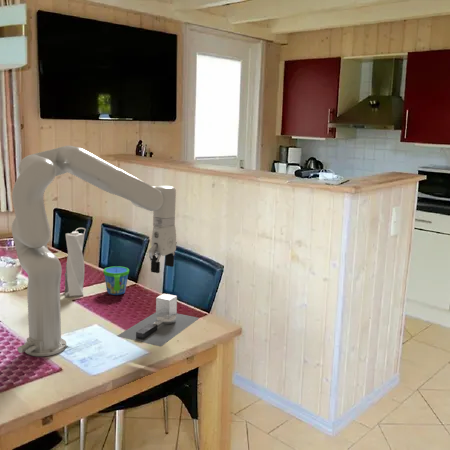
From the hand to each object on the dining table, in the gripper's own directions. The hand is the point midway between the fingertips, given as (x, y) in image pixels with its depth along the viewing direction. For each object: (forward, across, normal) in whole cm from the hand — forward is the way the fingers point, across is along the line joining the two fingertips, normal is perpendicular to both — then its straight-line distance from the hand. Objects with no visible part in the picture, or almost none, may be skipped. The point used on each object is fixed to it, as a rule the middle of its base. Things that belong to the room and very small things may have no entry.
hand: (162, 269), depth 181 cm
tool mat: (+21, -4, -2) cm, 21 cm away
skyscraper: (+21, +10, +47) cm, 52 cm away
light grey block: (+17, +1, -1) cm, 17 cm away
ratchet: (+20, -6, -1) cm, 21 cm away
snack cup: (+21, +20, +34) cm, 45 cm away
